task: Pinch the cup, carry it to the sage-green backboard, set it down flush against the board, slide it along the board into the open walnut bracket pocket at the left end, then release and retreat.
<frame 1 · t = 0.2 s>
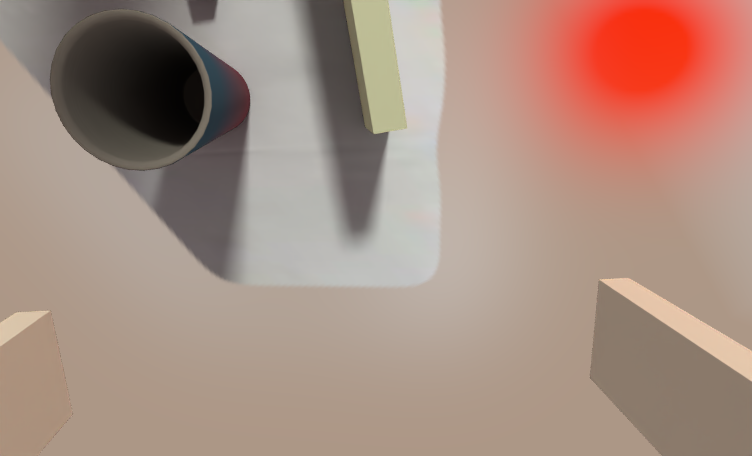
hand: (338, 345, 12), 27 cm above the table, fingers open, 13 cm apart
cup: (216, 97, 36), on the table
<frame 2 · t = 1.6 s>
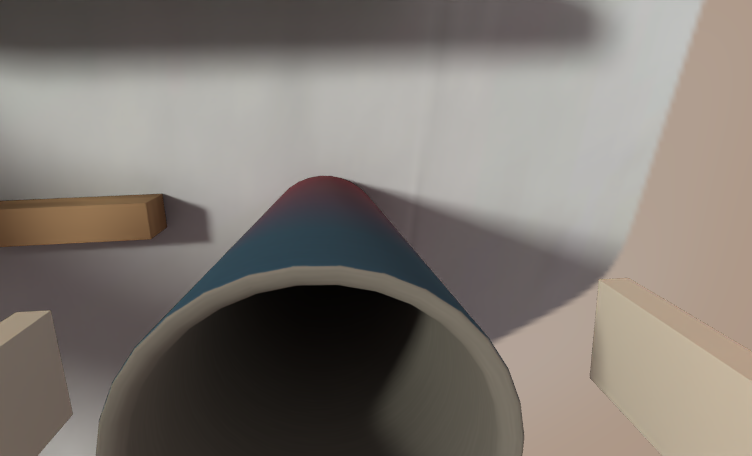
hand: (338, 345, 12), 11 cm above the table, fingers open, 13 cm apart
cup: (325, 228, 22), on the table
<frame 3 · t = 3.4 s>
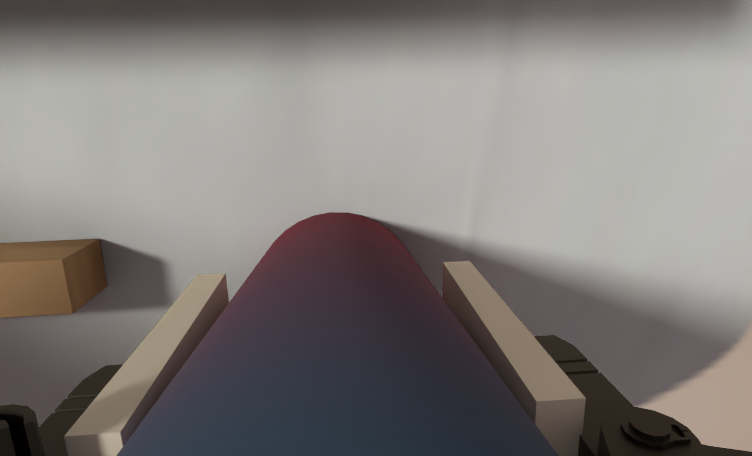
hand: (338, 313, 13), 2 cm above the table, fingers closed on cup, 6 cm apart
cup: (338, 286, 15), on the table, touching gripper
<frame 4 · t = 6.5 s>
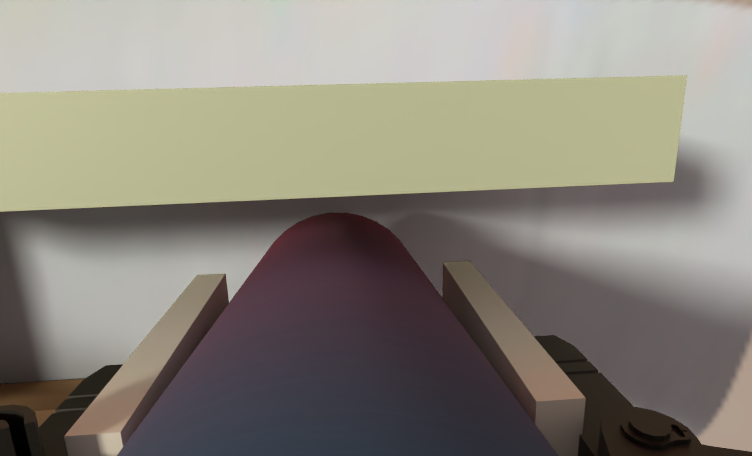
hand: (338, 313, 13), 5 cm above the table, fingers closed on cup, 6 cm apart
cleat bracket: (47, 284, 18), on the table
wall board: (179, 128, 17), on the table
cup: (338, 286, 15), point 3 cm above the table, touching gripper
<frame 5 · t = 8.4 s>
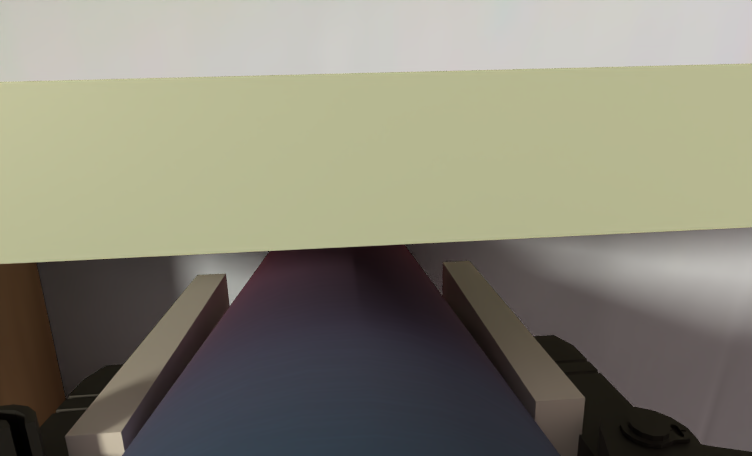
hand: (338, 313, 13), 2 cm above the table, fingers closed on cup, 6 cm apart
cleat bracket: (211, 308, 15), on the table
wall board: (378, 127, 14), on the table
cup: (339, 285, 16), on the table, touching gripper
when the fingers open (2 cm above the table, at t = 9.7 s): cup stays where it is, on the table.
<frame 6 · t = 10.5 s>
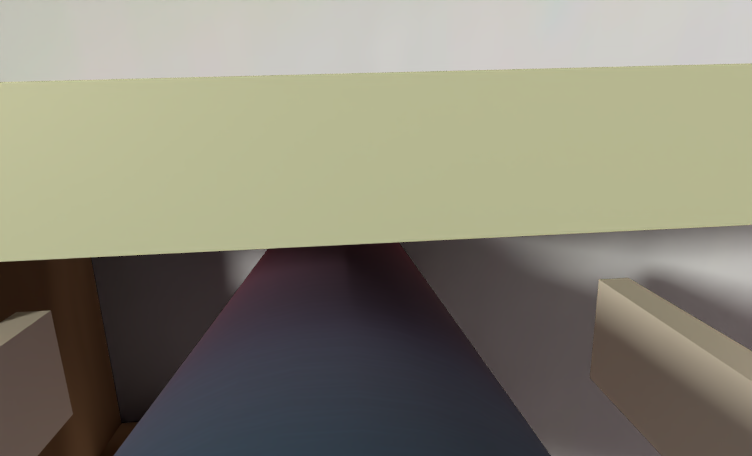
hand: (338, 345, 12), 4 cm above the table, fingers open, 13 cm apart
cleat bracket: (261, 304, 16), on the table
wall board: (429, 124, 15), on the table
cup: (336, 285, 16), on the table
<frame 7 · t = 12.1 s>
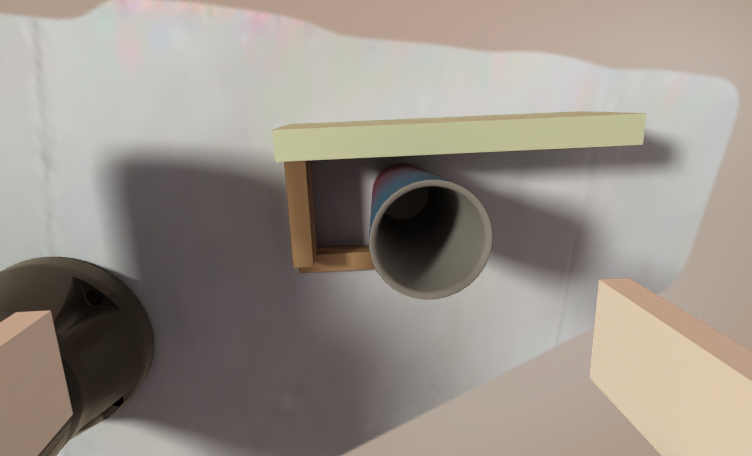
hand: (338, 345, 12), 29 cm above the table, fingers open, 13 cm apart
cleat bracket: (373, 199, 41), on the table
wall board: (437, 130, 39), on the table
cup: (401, 192, 41), on the table
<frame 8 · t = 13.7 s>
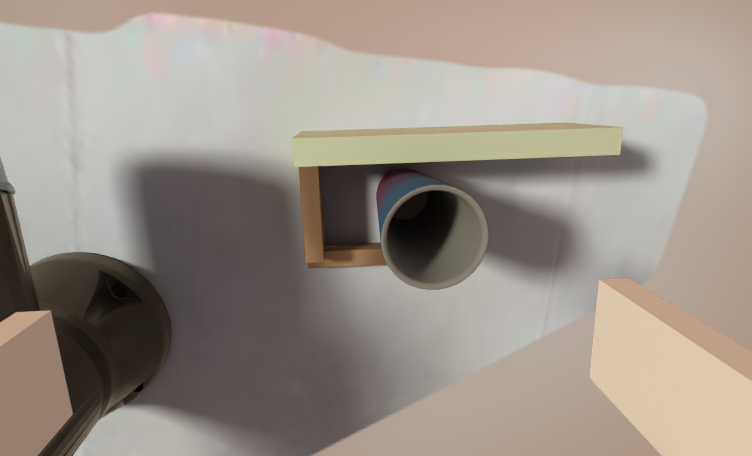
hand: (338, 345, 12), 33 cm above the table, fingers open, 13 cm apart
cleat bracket: (377, 201, 44), on the table
wall board: (436, 138, 43), on the table
cup: (403, 194, 45), on the table
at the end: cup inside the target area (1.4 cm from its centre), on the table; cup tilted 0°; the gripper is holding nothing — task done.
